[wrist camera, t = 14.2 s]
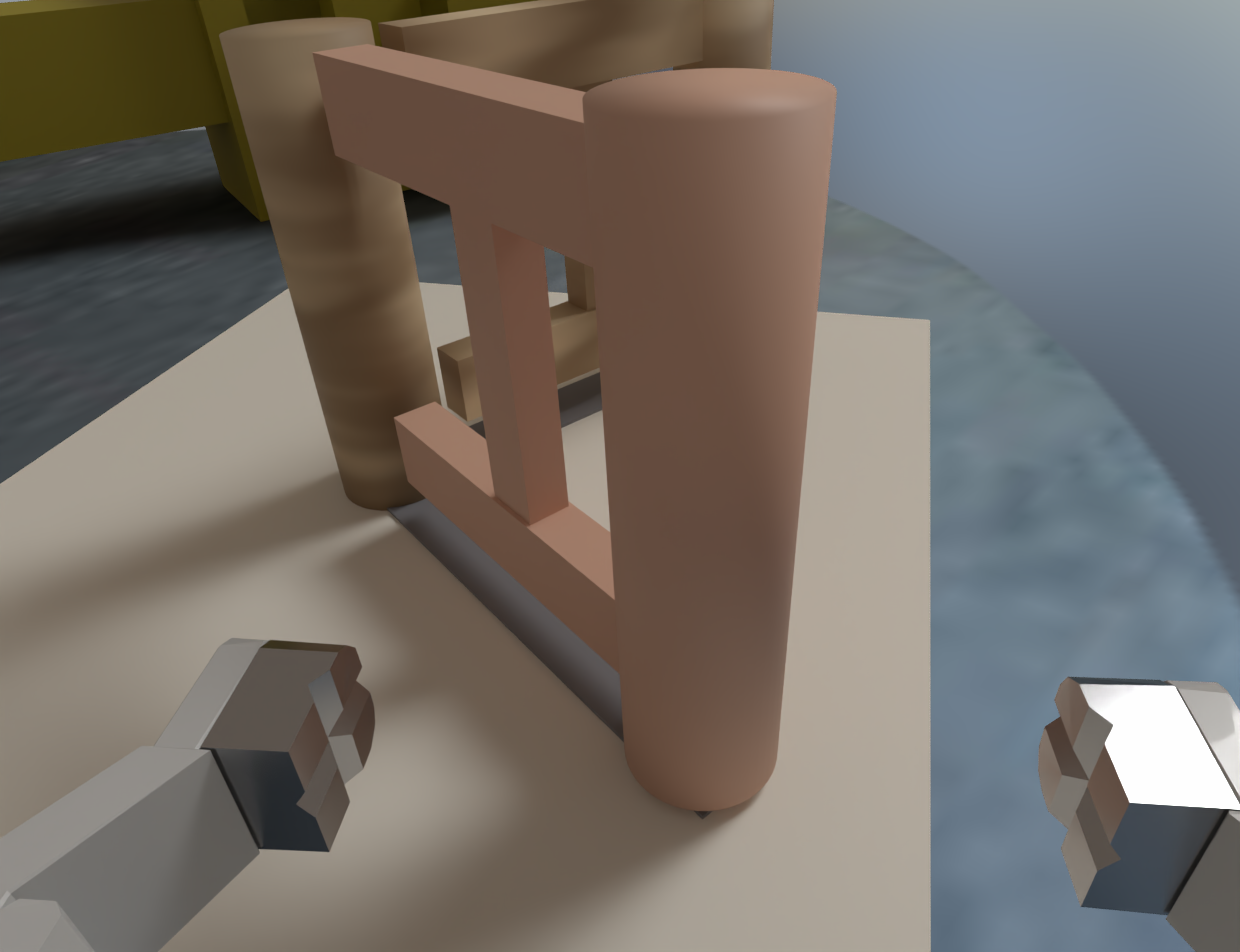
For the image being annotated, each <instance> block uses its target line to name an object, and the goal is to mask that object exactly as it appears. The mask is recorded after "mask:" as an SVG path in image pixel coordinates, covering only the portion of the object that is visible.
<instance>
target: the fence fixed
mask: <svg viewBox="0 0 1240 952" xmlns="http://www.w3.org/2000/svg"><path fill="white" fill-rule="evenodd" d="M773 7H774V0H538V1H531V2H523V3H516V4H509V5H502V6H495V7H488V8H481V9H474V10H467V11H460V12H453V13H446V14H438V15H431V16H424V17H417V18H410V19H403V20H396V21H389V22H382V23H378V26H379V32H380V37H381V43H382V47H383V48H388V49H392V50H397V51H402V52H406V53H411V54H415V55H420V56H424V57H429V58H433V59H438V60H442V61H447V62H451V63H456V64H460V65H465V66H469V67H474V68H479V69H483V70H488V71H492V72H497V73H501V74H506V75H510V76H515V77H519V78H524V79H528V80H533V81H537V82H542V83H546V84H551V85H556V86H560V87H565V88H569V89H574V90H578V91H583V92H587V91H589V90H590V89H592V88H594V87H596V86H598V85H601V84H604V83H607V82H610V81H612V79H617V78H621V77H626V76H631V75H636V74H641V73H646V72H651V71H655V70H660V69H665V68H670V67H673V71H674V70H686V69H704V68H750V69H768V70H770V69H771V49H772V27H773ZM219 37H220V41H221V45H222V48H223V52H224V56H225V59H226V63H227V66H228V70H229V74H230V77H231V81H232V85H233V88H234V92H235V96H236V99H237V103H238V106H239V110H240V114H241V117H242V121H243V125H244V128H245V132H246V135H247V139H248V143H249V146H250V150H251V154H252V157H253V161H254V165H255V168H256V172H257V175H258V179H259V183H260V186H261V190H262V194H263V197H264V201H265V204H266V208H267V212H268V215H269V219H270V223H271V226H272V230H273V233H274V237H275V241H276V244H277V248H278V252H279V255H280V259H281V263H282V266H283V270H284V273H285V277H286V281H287V284H288V288H289V292H290V295H291V299H292V302H293V306H294V310H295V313H296V317H297V321H298V324H299V328H300V331H301V335H302V339H303V342H304V346H305V350H306V353H307V357H308V361H309V364H310V368H311V371H312V375H313V379H314V382H315V386H316V390H317V393H318V397H319V400H320V404H321V408H322V411H323V415H324V419H325V422H326V426H327V429H328V433H329V437H330V440H331V444H332V448H333V451H334V455H335V459H336V462H337V466H338V469H339V473H340V477H341V480H342V484H343V488H344V491H345V494H346V496H347V497H348V499H349V500H350V501H351V502H353V503H354V504H356V505H358V506H360V507H363V508H366V509H371V510H380V511H388V510H387V508H390V507H399V506H405V505H409V504H412V503H416V502H419V501H421V500H424V499H426V498H425V497H424V496H423V495H422V494H421V493H420V492H419V491H418V490H417V489H415V488H414V487H413V486H412V485H411V484H410V483H409V482H408V480H407V475H406V471H405V466H404V462H403V457H402V453H401V448H400V444H399V439H398V435H397V431H396V426H395V422H394V417H396V416H399V415H401V414H404V413H407V412H409V411H412V410H414V409H417V408H419V407H422V406H425V405H427V404H430V403H432V402H437V403H438V404H439V405H441V406H442V404H441V399H440V393H439V388H438V382H437V377H436V372H435V366H434V361H433V355H432V350H431V345H430V339H429V334H428V328H427V323H426V318H425V312H424V307H423V301H422V296H421V290H420V285H419V280H418V274H417V269H416V263H415V258H414V253H413V247H412V242H411V236H410V231H409V226H408V220H407V215H406V209H405V204H404V199H403V193H402V188H401V184H400V183H397V182H395V181H393V180H390V179H388V178H386V177H384V176H381V175H379V174H377V173H374V172H372V171H370V170H368V169H365V168H363V167H361V166H358V165H356V164H354V163H352V162H349V161H347V160H345V159H342V158H340V157H338V156H335V153H334V148H333V144H332V139H331V135H330V130H329V126H328V121H327V117H326V112H325V108H324V103H323V99H322V94H321V90H320V85H319V81H318V76H317V72H316V67H315V63H314V58H313V54H312V52H318V51H325V50H331V49H338V48H344V47H351V46H357V45H364V44H370V45H374V46H375V42H374V36H373V31H372V26H371V21H370V20H367V19H362V18H350V17H327V18H307V19H294V20H284V21H275V22H268V23H260V24H254V25H249V26H243V27H239V28H234V29H231V30H227V31H225V32H222V33H221V34H219ZM565 267H566V279H567V291H568V301H566V302H564V303H561V304H558V305H555V306H552V307H550V317H551V328H552V338H553V348H554V358H555V369H556V379H557V385H558V384H561V383H563V382H566V381H568V380H571V379H573V378H575V377H578V376H580V375H583V374H585V373H588V372H590V371H592V370H595V369H597V368H600V365H599V350H598V334H597V319H596V304H595V288H594V273H593V268H592V267H590V266H588V265H585V264H583V263H581V262H578V261H576V260H574V259H572V258H569V257H567V256H565ZM437 352H438V358H439V363H440V369H441V374H442V380H443V385H444V391H445V396H446V402H447V407H448V408H449V409H451V410H452V411H454V412H455V413H456V414H458V415H459V416H460V417H462V418H463V419H464V420H466V421H467V422H468V421H471V420H473V419H476V418H478V417H481V416H482V410H481V404H480V397H479V391H478V384H477V378H476V371H475V365H474V359H473V352H472V346H471V339H470V336H468V337H465V338H462V339H460V340H457V341H454V342H451V343H448V344H446V345H443V346H440V347H437Z"/></svg>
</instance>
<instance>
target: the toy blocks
mask: <svg viewBox="0 0 1240 952" xmlns="http://www.w3.org/2000/svg"><path fill="white" fill-rule="evenodd" d="M531 1H538V0H29V1H19V2H8V3H0V162H1V161H7V160H12V159H18V158H24V157H30V156H36V155H41V154H47V153H53V152H59V151H65V150H70V149H76V148H82V147H88V146H94V145H99V144H105V143H111V142H117V141H123V140H128V139H134V138H140V137H146V136H152V135H157V134H163V133H169V132H175V131H181V130H186V129H192V128H198V127H203V126H205V127H206V130H207V134H208V137H209V140H210V144H211V147H212V151H213V154H214V157H215V161H216V164H217V167H218V171H219V174H220V177H221V181H222V184H223V186H224V187H225V188H226V189H227V190H228V191H229V192H230V193H231V194H232V195H233V196H234V197H235V198H236V199H237V200H238V201H239V202H240V203H242V204H243V205H244V206H245V207H246V208H247V209H248V210H249V211H250V212H251V213H252V214H253V215H254V216H255V217H256V218H257V219H258V220H259V221H260V222H262V221H267V220H270V219H269V215H268V212H267V208H266V204H265V201H264V197H263V194H262V190H261V186H260V183H259V179H258V175H257V172H256V168H255V165H254V161H253V157H252V154H251V150H250V146H249V143H248V139H247V135H246V132H245V128H244V125H243V121H242V117H241V114H240V110H239V106H238V103H237V99H236V96H235V92H234V88H233V85H232V81H231V77H230V74H229V70H228V66H227V63H226V59H225V56H224V52H223V48H222V45H221V41H220V37H219V34H221V33H222V32H225V31H227V30H231V29H234V28H239V27H243V26H249V25H254V24H260V23H268V22H275V21H284V20H294V19H307V18H327V17H350V18H362V19H367V20H370V21H371V26H372V31H373V36H374V42H375V46H379V47H382V43H381V37H380V32H379V26H378V23H382V22H389V21H396V20H403V19H410V18H417V17H424V16H431V15H438V14H446V13H453V12H460V11H467V10H474V9H481V8H488V7H495V6H502V5H509V4H516V3H523V2H531ZM401 188H402V191H405V190H410V189H411V188H409V187H407V186H404V185H402V184H401Z"/></svg>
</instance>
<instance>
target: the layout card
mask: <svg viewBox="0 0 1240 952" xmlns="http://www.w3.org/2000/svg"><path fill="white" fill-rule="evenodd" d="M419 285H420V290H421V296H422V301H423V307H424V312H425V318H426V323H427V328H428V334H429V339H430V345H431V350H432V355H433V361H434V366H435V372H436V377H437V382H438V388H439V393H440V399H441V404H442V407H443V408H445V409H446V410H447V411H449V412H450V413H451V414H453V415H454V416H455V417H457V418H458V419H459V420H461V421H462V422H463V423H465V424H466V425H467V426H469V427H470V428H471V429H473V430H474V431H475V432H477V433H478V434H479V435H481V436H482V437H483V438H485V439H486V436H485V429H484V423H483V416H481V417H478V418H476V419H473V420H471V421H468V422H467V421H466V420H464V419H463V418H462V417H460V416H459V415H458V414H456V413H455V412H454V411H452V410H451V409H449V408H448V407H447V402H446V396H445V391H444V385H443V380H442V374H441V369H440V363H439V358H438V352H437V347H440V346H443V345H446V344H448V343H451V342H454V341H457V340H460V339H462V338H465V337H468V336H470V333H469V327H468V320H467V314H466V307H465V301H464V294H463V288H462V286H460V285H447V284H433V283H420V282H419ZM548 297H549V307H552V306H555V305H558V304H561V303H564V302H566V301H568V293H555V292H548ZM557 389H558V400H559V410H560V420H561V431H562V441H563V451H564V461H565V472H566V482H567V492H568V501H569V502H570V503H572V504H573V505H574V506H576V507H577V508H578V509H580V510H581V511H582V512H584V513H585V514H586V515H588V516H589V517H590V518H592V519H593V520H594V521H596V522H597V523H598V524H600V525H601V526H602V527H604V528H605V529H606V530H608V531H609V532H610V519H609V504H608V488H607V473H606V458H605V442H604V427H603V411H602V396H601V381H600V368H597V369H595V370H592V371H590V372H588V373H585V374H583V375H580V376H578V377H575V378H573V379H571V380H568V381H566V382H563V383H561V384H558V385H557ZM387 510H388V511H380V510H371V509H366V508H363V507H360V506H358V505H356V504H354V503H353V502H351V501H350V500H349V499H348V497H347V496H346V494H345V491H344V488H343V484H342V480H341V477H340V473H339V469H338V466H337V462H336V459H335V455H334V451H333V448H332V444H331V440H330V437H329V433H328V429H327V426H326V422H325V419H324V415H323V411H322V408H321V404H320V400H319V397H318V393H317V390H316V386H315V382H314V379H313V375H312V371H311V368H310V364H309V361H308V357H307V353H306V350H305V346H304V342H303V339H302V335H301V331H300V328H299V324H298V321H297V317H296V313H295V310H294V306H293V302H292V299H291V295H290V292H289V288H288V289H287V290H285V291H284V292H282V293H281V294H279V295H278V296H276V297H275V298H274V299H272V300H271V301H269V302H268V303H266V304H265V305H263V306H262V307H260V308H259V309H257V310H256V311H254V312H253V313H251V314H250V315H248V316H247V317H246V318H244V319H243V320H241V321H240V322H238V323H237V324H235V325H234V326H232V327H231V328H229V329H228V330H226V331H225V332H223V333H222V334H220V335H219V336H218V337H216V338H215V339H213V340H212V341H210V342H209V343H207V344H206V345H204V346H203V347H201V348H200V349H198V350H197V351H195V352H194V353H193V354H191V355H190V356H188V357H187V358H185V359H184V360H182V361H181V362H179V363H178V364H176V365H175V366H173V367H172V368H170V369H169V370H167V371H166V372H165V373H163V374H162V375H160V376H159V377H157V378H156V379H154V380H153V381H151V382H150V383H148V384H147V385H145V386H144V387H142V388H141V389H139V390H138V391H137V392H135V393H134V394H132V395H131V396H129V397H128V398H126V399H125V400H123V401H122V402H120V403H119V404H117V405H116V406H114V407H113V408H112V409H110V410H109V411H107V412H106V413H104V414H103V415H101V416H100V417H98V418H97V419H95V420H94V421H92V422H91V423H89V424H88V425H86V426H85V427H84V428H82V429H81V430H79V431H78V432H76V433H75V434H73V435H72V436H70V437H69V438H67V439H66V440H64V441H63V442H61V443H60V444H58V445H57V446H56V447H54V448H53V449H51V450H50V451H48V452H47V453H45V454H44V455H42V456H41V457H39V458H38V459H36V460H35V461H33V462H32V463H31V464H29V465H28V466H26V467H25V468H23V469H22V470H20V471H19V472H17V473H16V474H14V475H13V476H11V477H10V478H8V479H7V480H5V481H4V482H3V483H1V484H0V838H1V837H3V836H4V835H6V834H8V833H9V832H11V831H12V830H14V829H15V828H17V827H18V826H20V825H21V824H23V823H24V822H26V821H27V820H29V819H30V818H32V817H33V816H35V815H37V814H38V813H40V812H41V811H43V810H44V809H46V808H47V807H49V806H50V805H52V804H53V803H55V802H56V801H58V800H59V799H61V798H63V797H64V796H66V795H67V794H69V793H70V792H72V791H73V790H75V789H76V788H78V787H79V786H81V785H82V784H84V783H85V782H87V781H89V780H90V779H92V778H93V777H95V776H96V775H98V774H99V773H101V772H102V771H104V770H105V769H107V768H108V767H110V766H111V765H113V764H114V763H116V762H118V761H119V760H121V759H122V758H124V757H125V756H127V755H128V754H130V753H131V752H133V751H134V750H136V749H137V748H139V747H140V746H154V745H155V743H156V742H157V740H158V739H159V737H160V735H161V734H162V732H163V731H164V729H165V728H166V726H167V725H168V723H169V722H170V720H171V719H172V717H173V716H174V714H175V713H176V711H177V710H178V708H179V707H180V705H181V704H182V702H183V701H184V699H185V697H186V696H187V694H188V693H189V691H190V690H191V688H192V687H193V685H194V684H195V682H196V681H197V679H198V678H199V676H200V675H201V673H202V672H203V670H204V669H205V667H206V666H207V664H208V663H209V661H210V659H211V658H212V656H213V655H214V653H215V652H216V650H217V649H218V647H219V646H220V645H222V644H223V643H225V642H226V641H228V640H229V639H231V638H243V639H258V640H281V641H295V642H309V643H323V644H337V645H348V646H351V647H355V648H356V651H357V653H358V656H359V659H360V662H361V664H362V669H361V671H360V673H359V675H358V678H357V680H356V681H357V682H359V683H360V684H361V685H362V686H363V687H365V688H366V689H367V690H368V691H369V692H370V694H371V697H372V700H373V704H374V712H375V729H374V735H373V741H372V747H371V750H370V753H369V756H368V758H367V761H366V764H365V766H364V769H363V770H362V771H360V772H359V773H358V774H357V775H356V776H354V777H353V778H352V779H351V780H349V781H348V782H347V783H346V784H344V785H345V788H346V791H347V794H348V797H349V800H350V803H349V806H348V808H347V811H346V813H345V816H344V818H343V820H342V823H341V825H340V828H339V830H338V833H337V835H336V837H335V840H334V842H333V845H332V847H331V850H330V852H315V851H291V850H268V849H259V851H260V854H259V855H258V856H257V857H256V858H255V859H254V860H253V861H252V862H250V863H249V864H248V865H247V866H246V867H245V868H244V869H243V870H242V871H241V872H240V873H239V874H238V875H237V876H236V877H235V878H234V879H233V880H232V881H231V882H230V883H229V884H228V885H227V886H226V887H225V888H223V889H222V890H221V891H220V892H219V893H218V894H217V895H216V896H215V897H214V898H213V899H212V900H211V901H210V902H209V903H208V904H207V905H206V906H205V907H204V908H203V909H202V910H201V911H200V912H199V913H198V914H197V915H195V916H194V917H193V918H192V919H191V920H190V921H189V922H188V923H187V924H186V925H185V926H184V927H183V928H182V929H181V930H180V931H179V932H178V933H177V934H176V935H175V936H174V937H173V938H172V939H171V940H170V941H168V942H167V943H166V944H165V945H164V946H163V947H162V948H161V949H160V950H159V951H158V952H931V903H930V320H921V319H908V318H894V317H881V316H867V315H854V314H840V313H827V312H817V319H816V330H815V341H814V352H813V363H812V374H811V386H810V397H809V408H808V419H807V430H806V441H805V453H804V464H803V475H802V486H801V497H800V508H799V519H798V531H797V542H796V553H795V564H794V575H793V586H792V597H791V609H790V620H789V631H788V642H787V653H786V664H785V675H784V687H783V698H782V709H781V720H780V731H779V742H778V753H777V760H776V765H775V768H774V771H773V773H772V775H771V777H770V778H769V780H768V782H767V783H766V784H765V785H764V787H763V788H762V789H761V790H760V791H759V792H757V793H756V794H755V795H754V796H752V797H751V798H749V799H748V800H746V801H744V802H742V803H740V804H738V805H735V806H733V807H730V808H726V809H721V810H715V811H693V810H686V809H682V808H678V807H675V806H672V805H669V804H667V803H665V802H663V801H661V800H659V799H657V798H656V797H654V796H653V795H651V794H650V793H649V792H647V791H646V790H645V789H644V788H643V787H642V786H641V785H640V784H639V783H638V781H637V780H636V779H635V777H634V776H633V774H632V773H631V771H630V768H629V766H628V764H627V760H626V757H625V749H624V735H623V719H622V704H621V689H620V674H619V673H618V672H617V671H616V670H614V669H613V668H612V667H611V666H610V665H609V664H608V663H607V662H606V661H605V660H603V659H602V658H601V657H600V656H599V655H598V654H597V653H596V652H595V651H594V650H592V649H591V648H590V647H589V646H588V645H587V644H586V643H585V642H584V641H583V640H581V639H580V638H579V637H578V636H577V635H576V634H575V633H574V632H573V631H572V630H570V629H569V628H568V627H567V626H566V625H565V624H564V623H563V622H562V621H561V620H559V619H558V618H557V617H556V616H555V615H554V614H553V613H552V612H551V611H550V610H548V609H547V608H546V607H545V606H544V605H543V604H542V603H541V602H540V601H539V600H538V599H536V598H535V597H534V596H533V595H532V594H531V593H530V592H529V591H528V590H527V589H525V588H524V587H523V586H522V585H521V584H520V583H519V582H518V581H517V580H516V579H514V578H513V577H512V576H511V575H510V574H509V573H508V572H507V571H506V570H505V569H503V568H502V567H501V566H500V565H499V564H498V563H497V562H496V561H495V560H494V559H492V558H491V557H490V556H489V555H488V554H487V553H486V552H485V551H484V550H483V549H481V548H480V547H479V546H478V545H477V544H476V543H475V542H474V541H473V540H472V539H470V538H469V537H468V536H467V535H466V534H465V533H464V532H463V531H462V530H461V529H459V528H458V527H457V526H456V525H455V524H454V523H453V522H452V521H451V520H450V519H448V518H447V517H446V516H445V515H444V514H443V513H442V512H441V511H440V510H439V509H437V508H436V507H435V506H434V505H433V504H432V503H431V502H430V501H429V500H428V499H424V500H421V501H419V502H416V503H412V504H409V505H405V506H399V507H390V508H387Z"/></svg>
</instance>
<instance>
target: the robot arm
mask: <svg viewBox="0 0 1240 952" xmlns="http://www.w3.org/2000/svg"><path fill="white" fill-rule="evenodd" d="M361 669H362V664H361V662H360V659H359V656H358V653H357V651H356V648H355V647H351V646H348V645H337V644H323V643H309V642H295V641H281V640H258V639H243V638H231V639H229V640H228V641H226V642H225V643H223V644H222V645H220V646H219V647H218V649H217V650H216V652H215V653H214V655H213V656H212V658H211V659H210V661H209V663H208V664H207V666H206V667H205V669H204V670H203V672H202V673H201V675H200V676H199V678H198V679H197V681H196V682H195V684H194V685H193V687H192V688H191V690H190V691H189V693H188V694H187V696H186V697H185V699H184V701H183V702H182V704H181V705H180V707H179V708H178V710H177V711H176V713H175V714H174V716H173V717H172V719H171V720H170V722H169V723H168V725H167V726H166V728H165V729H164V731H163V732H162V734H161V735H160V737H159V739H158V740H157V742H156V743H155V745H154V746H140V747H139V748H137V749H136V750H134V751H133V752H131V753H130V754H128V755H127V756H125V757H124V758H122V759H121V760H119V761H118V762H116V763H114V764H113V765H111V766H110V767H108V768H107V769H105V770H104V771H102V772H101V773H99V774H98V775H96V776H95V777H93V778H92V779H90V780H89V781H87V782H85V783H84V784H82V785H81V786H79V787H78V788H76V789H75V790H73V791H72V792H70V793H69V794H67V795H66V796H64V797H63V798H61V799H59V800H58V801H56V802H55V803H53V804H52V805H50V806H49V807H47V808H46V809H44V810H43V811H41V812H40V813H38V814H37V815H35V816H33V817H32V818H30V819H29V820H27V821H26V822H24V823H23V824H21V825H20V826H18V827H17V828H15V829H14V830H12V831H11V832H9V833H8V834H6V835H4V836H3V837H1V838H0V952H158V951H159V950H160V949H161V948H162V947H163V946H164V945H165V944H166V943H167V942H168V941H170V940H171V939H172V938H173V937H174V936H175V935H176V934H177V933H178V932H179V931H180V930H181V929H182V928H183V927H184V926H185V925H186V924H187V923H188V922H189V921H190V920H191V919H192V918H193V917H194V916H195V915H197V914H198V913H199V912H200V911H201V910H202V909H203V908H204V907H205V906H206V905H207V904H208V903H209V902H210V901H211V900H212V899H213V898H214V897H215V896H216V895H217V894H218V893H219V892H220V891H221V890H222V889H223V888H225V887H226V886H227V885H228V884H229V883H230V882H231V881H232V880H233V879H234V878H235V877H236V876H237V875H238V874H239V873H240V872H241V871H242V870H243V869H244V868H245V867H246V866H247V865H248V864H249V863H250V862H252V861H253V860H254V859H255V858H256V857H257V856H258V855H259V854H260V851H259V849H268V850H291V851H315V852H330V850H331V847H332V845H333V842H334V840H335V837H336V835H337V833H338V830H339V828H340V825H341V823H342V820H343V818H344V816H345V813H346V811H347V808H348V806H349V803H350V800H349V797H348V794H347V791H346V788H345V785H344V784H346V783H347V782H348V781H349V780H351V779H352V778H353V777H354V776H356V775H357V774H358V773H359V772H360V771H362V770H363V769H364V766H365V764H366V761H367V758H368V756H369V753H370V750H371V747H372V741H373V735H374V729H375V712H374V704H373V700H372V697H371V694H370V692H369V691H368V690H367V689H366V688H365V687H363V686H362V685H361V684H360V683H359V682H357V681H356V680H357V678H358V675H359V673H360V671H361ZM1055 703H1056V706H1057V708H1058V711H1059V714H1060V717H1059V718H1057V719H1056V720H1054V721H1053V722H1051V723H1050V724H1048V725H1047V726H1045V728H1044V732H1043V735H1042V738H1041V742H1040V745H1039V766H1038V771H1039V777H1040V783H1041V789H1042V793H1043V796H1044V799H1045V802H1046V805H1047V808H1048V811H1049V812H1050V813H1051V814H1052V815H1053V816H1054V817H1055V818H1056V819H1057V820H1058V821H1060V822H1061V823H1062V824H1063V825H1064V826H1065V827H1066V828H1067V829H1068V832H1067V834H1066V837H1065V839H1064V842H1063V844H1062V847H1061V850H1062V853H1063V856H1064V859H1065V862H1066V865H1067V868H1068V871H1069V874H1070V877H1071V879H1072V882H1073V885H1074V888H1075V891H1076V894H1077V897H1078V900H1079V903H1080V906H1081V907H1088V908H1099V909H1109V910H1119V911H1129V912H1139V913H1149V914H1159V915H1168V916H1167V918H1166V920H1167V921H1168V922H1169V923H1170V924H1171V925H1172V927H1173V928H1174V929H1175V930H1176V931H1177V932H1178V933H1179V934H1180V935H1181V936H1182V937H1183V938H1184V940H1185V941H1186V942H1187V943H1188V944H1189V945H1190V946H1191V947H1192V948H1193V949H1194V950H1195V951H1196V952H1240V711H1239V709H1238V708H1237V706H1236V704H1235V703H1234V701H1233V699H1232V698H1231V696H1230V694H1229V693H1228V691H1227V690H1226V689H1225V688H1223V687H1222V686H1221V685H1219V684H1218V683H1216V682H1190V681H1161V680H1146V679H1117V678H1088V677H1067V678H1066V679H1065V680H1064V681H1063V682H1062V683H1061V684H1060V686H1059V689H1058V692H1057V694H1056V697H1055Z"/></svg>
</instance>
